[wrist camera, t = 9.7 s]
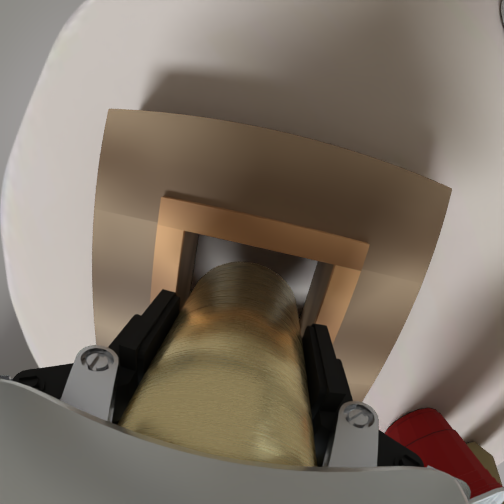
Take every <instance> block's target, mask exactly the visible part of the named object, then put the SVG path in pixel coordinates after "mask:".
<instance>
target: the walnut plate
mask: <svg viewBox="0 0 504 504" xmlns="http://www.w3.org/2000/svg"><path fill="white" fill-rule="evenodd" d="M451 191H452V188H449V187H447V186H445V185H443V184H440V183H438V182H436V181H433V180H431V179H429V178H426V177H424V176H421V175H419V174H416V173H414V172H411V171H409V170H406V169H404V168H401V167H398V166H396V165H393V164H390V163H387V162H385V161H382V160H379V159H376V158H373V157H370V156H367V155H364V154H361V153H358V152H355V151H352V150H348V149H345V148H342V147H338V146H335V145H331V144H328V143H324V142H321V141H317V140H313V139H310V138H306V137H302V136H298V135H294V134H290V133H285V132H281V131H277V130H272V129H267V128H263V127H258V126H253V125H248V124H242V123H237V122H231V121H225V120H219V119H213V118H206V117H199V116H191V115H183V114H175V113H165V112H154V111H142V110H125V109H109V110H108V115H107V119H106V125H105V130H104V135H103V141H102V147H101V154H100V160H99V168H98V176H97V185H96V194H95V206H94V221H93V243H92V287H93V309H94V324H95V335H96V345H101V346H105V347H109V345H110V344H111V343H112V342H113V340H114V339H115V338H116V337H117V335H118V334H119V333H120V332H121V330H122V329H123V328H124V327H125V326H126V324H127V323H128V322H129V321H130V319H131V318H132V317H133V316H134V315H135V314H138V315H142V314H143V313H144V312H145V310H146V309H147V308H148V307H149V305H150V304H151V303H152V301H153V300H154V299H155V298H156V297H157V295H158V294H159V293H160V292H161V290H162V289H164V290H168V291H172V292H176V295H177V297H180V308H179V313H180V311H181V310H182V308H183V306H184V304H185V303H186V301H187V299H188V298H189V296H190V289H191V282H192V275H193V268H194V261H195V255H196V249H197V242H198V236H199V234H202V235H206V236H211V237H215V238H219V239H224V240H228V241H233V242H237V243H242V244H246V245H250V246H255V247H259V248H264V249H268V250H272V251H277V252H281V253H285V254H290V255H294V256H299V257H303V258H307V259H312V260H316V261H318V263H317V266H316V270H315V273H314V276H313V279H312V283H311V286H310V289H309V292H308V295H307V298H306V301H305V304H304V307H303V310H302V313H301V316H300V319H299V325H300V331H301V338H303V335H304V332H305V329H306V327H307V326H311V325H312V324H313V323H315V324H321V325H326V326H327V328H328V331H329V334H330V338H331V341H332V344H333V348H334V351H335V355H336V358H337V359H340V360H341V361H342V364H343V368H344V371H345V375H346V378H347V381H348V385H349V388H350V392H351V395H352V399H353V401H359V402H362V401H363V399H364V398H365V396H366V394H367V393H368V391H369V389H370V388H371V386H372V384H373V383H374V381H375V379H376V378H377V376H378V374H379V372H380V371H381V369H382V367H383V365H384V363H385V362H386V360H387V358H388V356H389V354H390V352H391V350H392V348H393V346H394V344H395V343H396V341H397V339H398V337H399V335H400V332H401V330H402V328H403V326H404V324H405V322H406V320H407V318H408V315H409V313H410V311H411V309H412V306H413V304H414V302H415V300H416V297H417V295H418V292H419V290H420V288H421V285H422V283H423V280H424V277H425V275H426V272H427V270H428V267H429V264H430V261H431V259H432V256H433V253H434V250H435V247H436V244H437V241H438V238H439V235H440V231H441V228H442V225H443V221H444V218H445V214H446V211H447V207H448V203H449V199H450V196H451Z"/></svg>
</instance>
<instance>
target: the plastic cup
mask: <svg viewBox="0 0 504 504" xmlns="http://www.w3.org/2000/svg"><path fill="white" fill-rule="evenodd" d="M385 434H386V435H388V436H389V437H391V438H392V439H394V440H395V441H397V442H398V443H400V444H401V445H403V446H405V447H406V448H408V449H409V450H411V451H413V452H414V453H416V454H417V455H418V456H419V457H420V458H421V459H422V461H423V464H424V467H427V466H428V465H429V466H431V467H433V468H435V469H437V470H439V471H442V472H445V473H447V474H449V475H451V476H453V477H455V478H458V479H460V480H462V481H464V482H465V483H467V485H468V486H469V488H470V491H471V496H470V500H469V504H501V503H502V502H503V501H504V487H503V486H502V485H500V483H498V482H497V481H496V479H495V478H494V477H492V476H491V474H490V473H489V471H488V470H487V469H485V468H484V466H483V465H482V464H481V462H480V461H479V460H478V459H477V457H476V456H475V455H474V453H473V452H472V451H471V449H470V448H469V447H468V446H467V444H466V443H465V442H464V441H463V439H462V438H461V437H460V435H459V434H458V433H457V432H456V430H453V429H452V427H451V426H450V425H449V424H448V422H447V421H446V420H445V419H444V417H443V416H442V415H441V414H440V413H438V412H437V410H436V409H432V408H425V409H419V410H416V411H414V412H411V413H409V414H407V415H405V416H403V417H402V418H400V419H399V420H397V421H395V422H394V423H393V424H392V425H391V426H390V427H389V428H388V429H387V431H386V432H385Z"/></svg>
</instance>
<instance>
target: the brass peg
mask: <svg viewBox="0 0 504 504" xmlns="http://www.w3.org/2000/svg"><path fill="white" fill-rule="evenodd" d="M117 425H118V426H121V427H124V428H126V429H129V430H132V431H134V432H137V433H140V434H143V435H146V436H149V437H152V438H155V439H159V440H162V441H165V442H169V443H172V444H176V445H179V446H183V447H186V448H190V449H193V450H197V451H200V452H204V453H208V454H213V455H217V456H222V457H228V458H234V459H240V460H248V461H258V462H265V463H274V464H283V465H295V466H310V467H317V461H316V451H315V441H314V432H313V423H312V415H311V406H310V398H309V390H308V382H307V374H306V367H305V360H304V352H303V345H302V338H301V331H300V325H299V318H298V311H297V305H296V300H295V297H294V294H293V292H292V290H291V288H290V287H289V285H288V284H287V283H286V281H285V280H284V279H283V278H282V277H281V276H280V275H278V274H277V273H276V272H274V271H273V270H271V269H269V268H267V267H265V266H262V265H259V264H256V263H251V262H230V263H226V264H222V265H220V266H217V267H215V268H213V269H211V270H210V271H209V272H207V273H206V274H205V275H204V276H203V277H202V278H201V279H200V280H199V281H198V283H197V284H196V286H195V288H194V289H193V291H192V293H191V294H190V296H189V298H188V299H187V301H186V303H185V304H184V306H183V308H182V310H181V311H180V313H179V315H178V316H177V318H176V320H175V322H174V323H173V325H172V327H171V329H170V330H169V332H168V334H167V335H166V337H165V339H164V341H163V342H162V344H161V346H160V348H159V350H158V351H157V353H156V355H155V357H154V358H153V360H152V362H151V364H150V366H149V367H148V369H147V371H146V373H145V374H144V376H143V378H142V380H141V382H140V384H139V385H138V387H137V389H136V391H135V393H134V394H133V396H132V398H131V400H130V402H129V404H128V406H127V407H126V409H125V411H124V413H123V415H122V417H121V419H120V420H119V422H118V424H117Z"/></svg>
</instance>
